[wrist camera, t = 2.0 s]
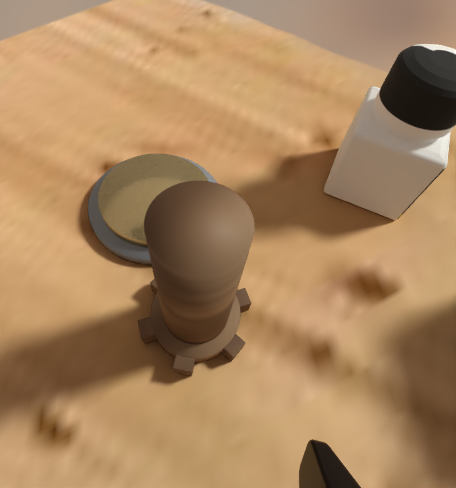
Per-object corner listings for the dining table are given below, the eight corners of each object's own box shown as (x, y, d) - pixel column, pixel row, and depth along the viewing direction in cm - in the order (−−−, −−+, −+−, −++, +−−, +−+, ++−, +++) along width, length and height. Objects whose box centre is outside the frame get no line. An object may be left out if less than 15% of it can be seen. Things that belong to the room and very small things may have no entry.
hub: (233, 200, 28) (234, 193, 27) (155, 270, 24) (154, 263, 23) (159, 147, 30) (158, 138, 30) (77, 202, 26) (73, 194, 26)
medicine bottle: (396, 222, 30) (504, 108, 19) (321, 193, 31) (387, 69, 20) (406, 171, 33) (501, 52, 23) (339, 147, 34) (402, 21, 24)
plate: (247, 206, 29) (249, 200, 28) (156, 292, 24) (155, 287, 23) (160, 143, 32) (159, 136, 31) (61, 208, 27) (58, 202, 26)
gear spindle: (267, 316, 24) (325, 223, 14) (201, 398, 21) (212, 357, 10) (191, 254, 26) (192, 132, 16) (120, 320, 23) (62, 221, 12)
